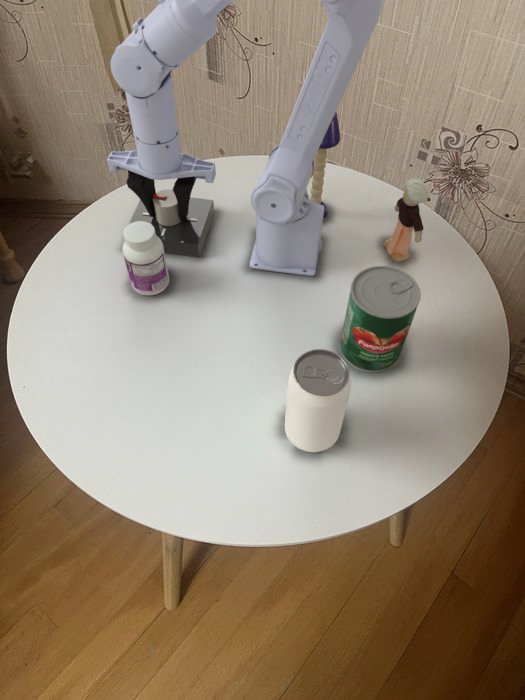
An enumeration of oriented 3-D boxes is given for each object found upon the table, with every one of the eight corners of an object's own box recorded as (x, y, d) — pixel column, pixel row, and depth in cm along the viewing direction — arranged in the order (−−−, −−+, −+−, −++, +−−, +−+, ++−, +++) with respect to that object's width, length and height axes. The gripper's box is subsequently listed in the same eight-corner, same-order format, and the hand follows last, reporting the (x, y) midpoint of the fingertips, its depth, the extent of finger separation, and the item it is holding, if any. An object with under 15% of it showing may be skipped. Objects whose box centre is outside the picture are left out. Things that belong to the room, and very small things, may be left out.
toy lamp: (300, 201, 90) (308, 102, 76) (330, 202, 90) (343, 103, 76) (300, 221, 87) (308, 122, 74) (330, 222, 87) (344, 124, 74)
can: (336, 458, 64) (350, 404, 54) (279, 448, 65) (283, 392, 55) (342, 410, 68) (357, 351, 58) (289, 400, 68) (294, 340, 59)
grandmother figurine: (372, 241, 85) (388, 169, 74) (393, 233, 86) (412, 161, 75) (402, 274, 81) (423, 204, 70) (424, 266, 82) (447, 195, 71)
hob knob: (186, 209, 85) (183, 189, 82) (179, 227, 82) (176, 207, 79) (160, 206, 85) (156, 185, 82) (152, 224, 83) (148, 203, 80)
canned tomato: (359, 381, 70) (374, 326, 61) (328, 335, 74) (338, 277, 65) (412, 359, 72) (435, 303, 63) (379, 316, 76) (396, 257, 67)
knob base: (214, 212, 88) (213, 199, 86) (199, 257, 82) (197, 244, 80) (146, 204, 89) (143, 190, 87) (126, 248, 83) (123, 234, 81)
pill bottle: (132, 270, 81) (119, 217, 73) (169, 267, 81) (160, 215, 73) (130, 298, 78) (116, 246, 70) (169, 296, 78) (159, 244, 70)
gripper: (218, 119, 74) (223, 202, 85) (111, 108, 75) (130, 191, 86) (205, 151, 70) (213, 234, 81) (93, 139, 71) (115, 222, 82)
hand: (169, 214), depth 83 cm, fingers closed on hob knob, 4 cm apart
